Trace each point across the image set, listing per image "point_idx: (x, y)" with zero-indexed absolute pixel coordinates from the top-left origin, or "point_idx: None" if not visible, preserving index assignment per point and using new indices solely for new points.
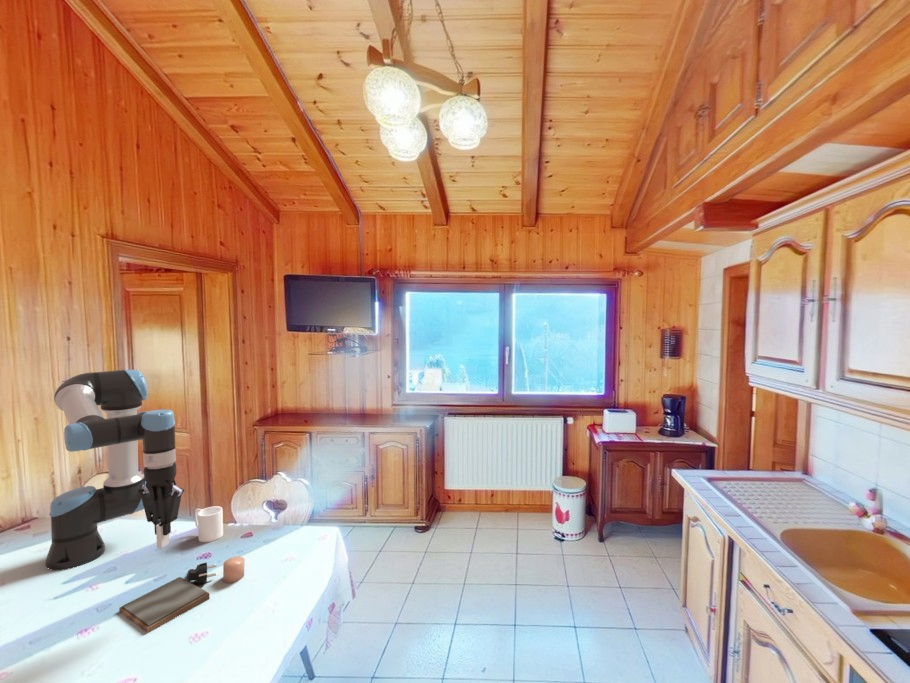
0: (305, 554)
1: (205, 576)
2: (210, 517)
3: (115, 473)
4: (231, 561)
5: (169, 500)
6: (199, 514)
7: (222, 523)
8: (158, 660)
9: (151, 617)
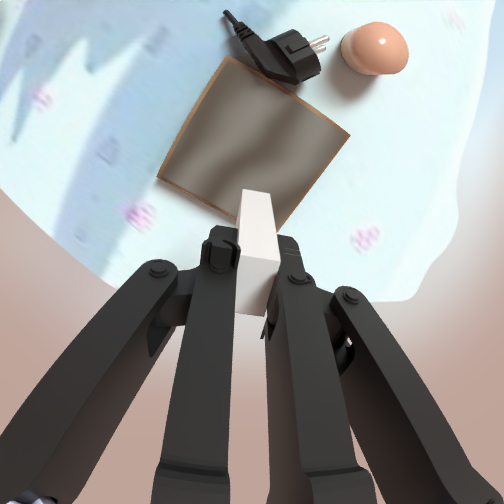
0: (476, 20)
1: (315, 75)
2: None
3: None
4: (376, 43)
5: (343, 457)
6: None
7: None
8: (322, 281)
9: None
